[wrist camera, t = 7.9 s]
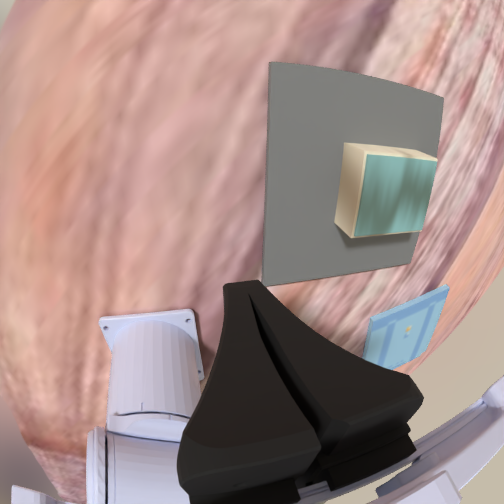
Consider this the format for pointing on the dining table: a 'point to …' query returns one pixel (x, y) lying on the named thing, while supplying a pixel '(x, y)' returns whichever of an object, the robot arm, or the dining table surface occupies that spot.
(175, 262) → the dining table surface
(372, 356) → the folded blue cloth
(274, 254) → the mat
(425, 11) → the dining table surface
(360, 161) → the beige and teal block
